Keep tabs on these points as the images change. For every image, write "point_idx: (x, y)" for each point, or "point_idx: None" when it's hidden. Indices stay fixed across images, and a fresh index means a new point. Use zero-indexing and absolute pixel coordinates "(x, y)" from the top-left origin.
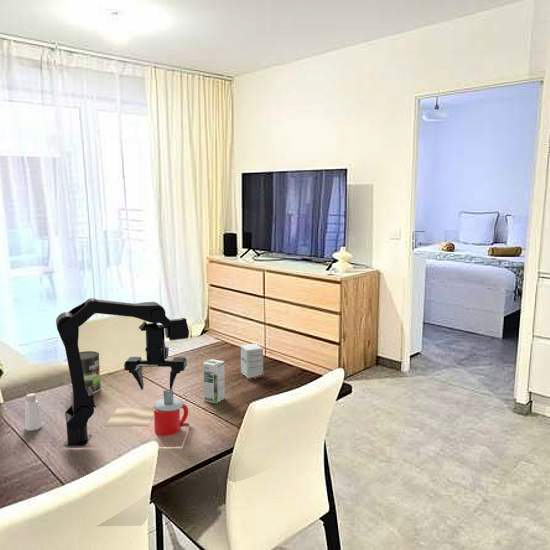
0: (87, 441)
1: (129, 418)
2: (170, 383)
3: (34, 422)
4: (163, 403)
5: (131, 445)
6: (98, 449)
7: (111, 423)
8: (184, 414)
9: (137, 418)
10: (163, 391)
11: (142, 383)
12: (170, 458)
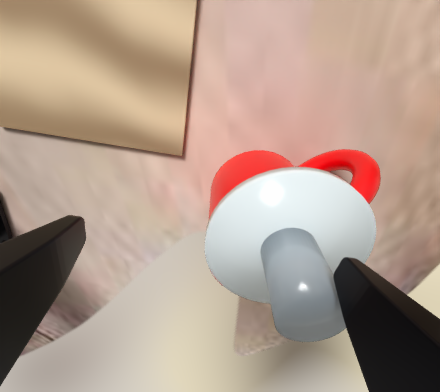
0: (5, 227)
1: (75, 61)
2: (366, 368)
3: None
4: (258, 250)
5: (151, 254)
6: None
7: (11, 103)
8: (345, 168)
9: (116, 69)
10: (275, 320)
11: (45, 281)
12: (257, 313)
